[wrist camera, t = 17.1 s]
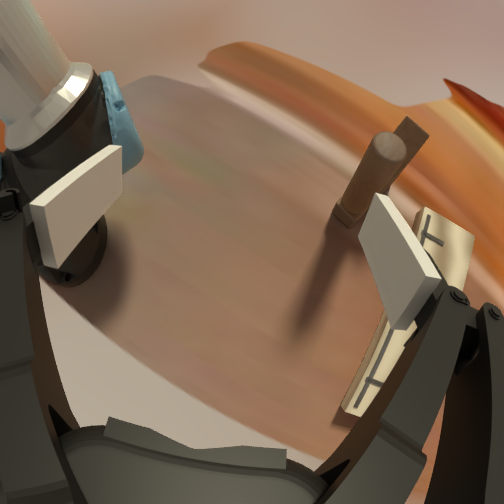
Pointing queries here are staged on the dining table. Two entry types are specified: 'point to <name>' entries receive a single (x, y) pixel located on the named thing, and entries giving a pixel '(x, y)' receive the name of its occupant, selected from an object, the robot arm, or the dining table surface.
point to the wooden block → (379, 169)
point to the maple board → (391, 341)
